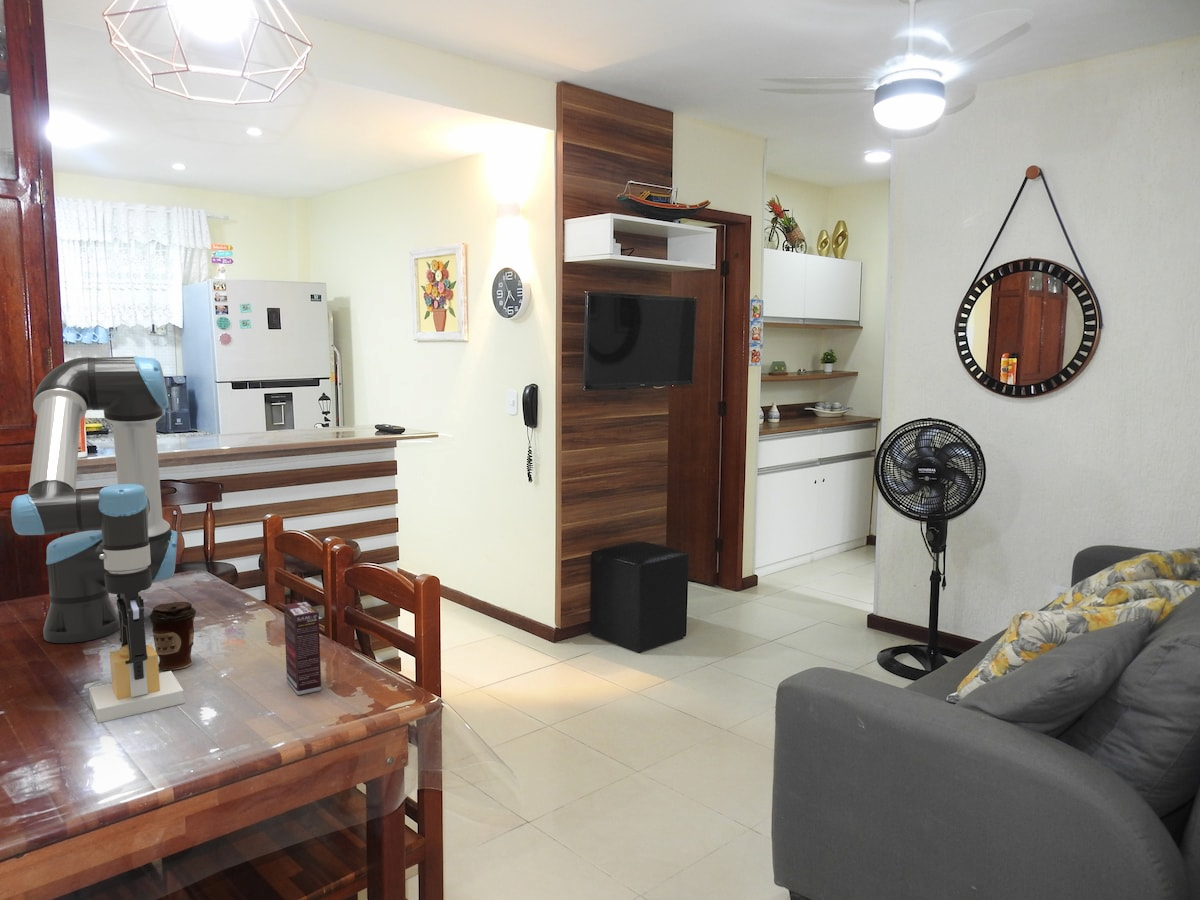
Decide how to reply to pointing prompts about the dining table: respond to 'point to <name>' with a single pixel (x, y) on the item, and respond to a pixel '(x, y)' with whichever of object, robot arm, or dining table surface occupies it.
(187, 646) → the coffee cup
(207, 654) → the dining table surface
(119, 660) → the cube with hemisphere knob
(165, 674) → the white rectangular block
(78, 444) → the robot arm
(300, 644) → the supplement box
